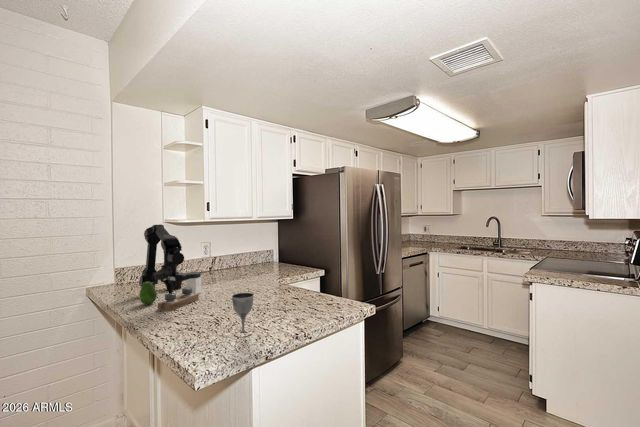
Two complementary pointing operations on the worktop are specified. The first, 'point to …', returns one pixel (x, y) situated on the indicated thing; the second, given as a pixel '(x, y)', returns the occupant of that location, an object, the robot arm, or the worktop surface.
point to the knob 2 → (187, 291)
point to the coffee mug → (178, 283)
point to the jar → (194, 282)
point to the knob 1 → (170, 297)
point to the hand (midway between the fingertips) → (170, 293)
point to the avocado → (148, 293)
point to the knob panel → (177, 302)
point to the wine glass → (242, 305)
